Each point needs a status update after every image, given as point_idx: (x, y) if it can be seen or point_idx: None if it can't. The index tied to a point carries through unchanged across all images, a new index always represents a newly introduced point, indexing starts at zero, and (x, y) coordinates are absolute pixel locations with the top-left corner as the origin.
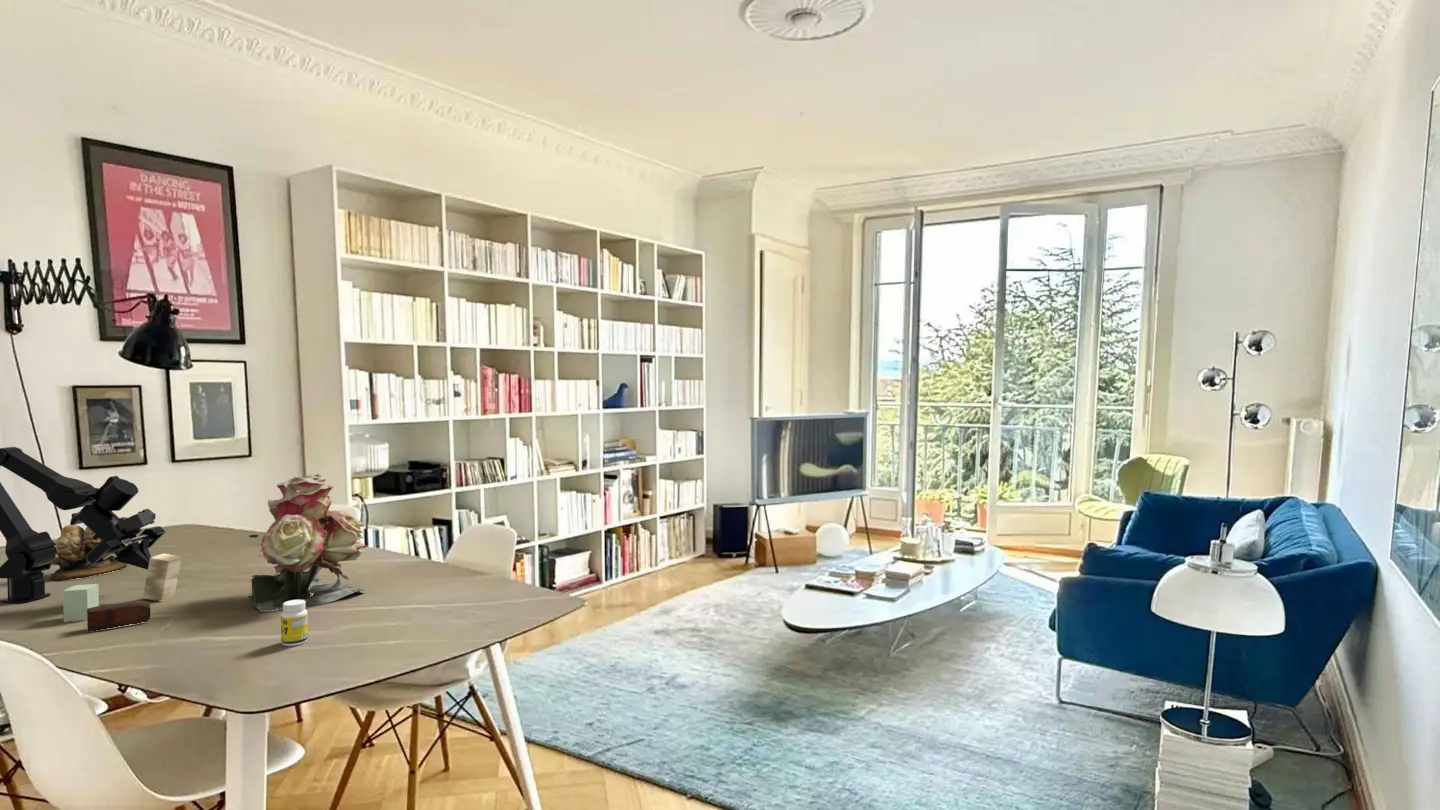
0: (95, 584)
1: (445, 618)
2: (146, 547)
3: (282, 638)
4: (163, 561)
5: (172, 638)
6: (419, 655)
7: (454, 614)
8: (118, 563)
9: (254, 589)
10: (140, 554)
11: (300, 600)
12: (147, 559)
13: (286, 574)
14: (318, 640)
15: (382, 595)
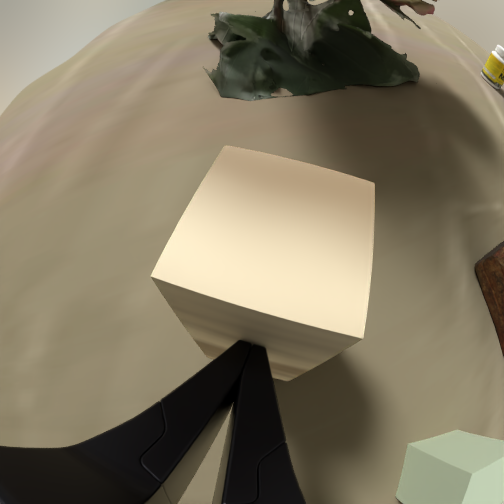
0: (476, 476)
1: (404, 9)
2: (91, 462)
3: (502, 84)
4: (371, 220)
5: None
6: (476, 43)
7: None
8: None
9: (404, 57)
10: (274, 475)
11: (500, 46)
12: (250, 401)
13: (364, 12)
14: (479, 68)
15: None
